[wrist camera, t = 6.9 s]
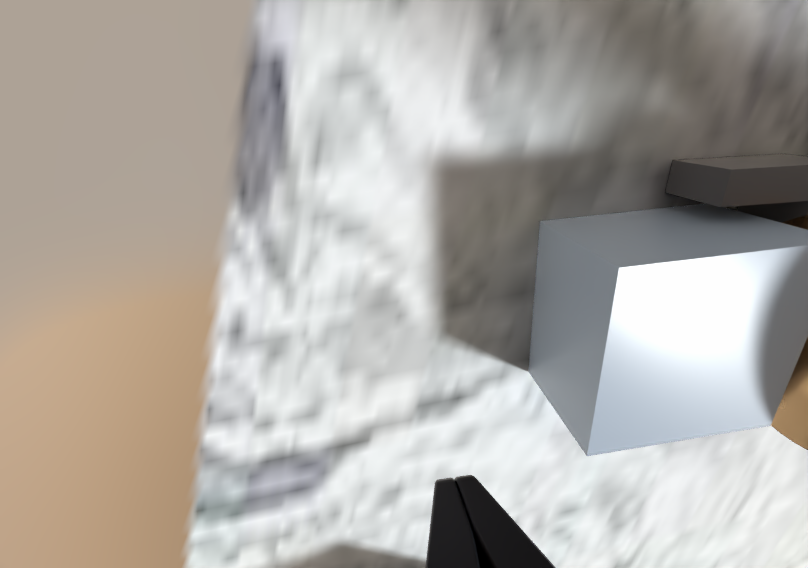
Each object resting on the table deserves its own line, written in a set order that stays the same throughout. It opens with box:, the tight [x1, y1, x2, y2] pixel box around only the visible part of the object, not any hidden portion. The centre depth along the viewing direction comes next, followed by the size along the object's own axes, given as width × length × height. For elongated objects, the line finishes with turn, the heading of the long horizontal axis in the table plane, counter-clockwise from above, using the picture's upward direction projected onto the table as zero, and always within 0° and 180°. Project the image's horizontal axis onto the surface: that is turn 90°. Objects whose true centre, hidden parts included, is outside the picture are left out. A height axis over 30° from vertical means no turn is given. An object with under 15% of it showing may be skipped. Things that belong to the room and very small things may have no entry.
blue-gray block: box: [529, 203, 808, 456], centre depth 15 cm, size 8×7×5 cm
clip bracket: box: [665, 154, 808, 228], centre depth 16 cm, size 5×11×2 cm, turn 2°
